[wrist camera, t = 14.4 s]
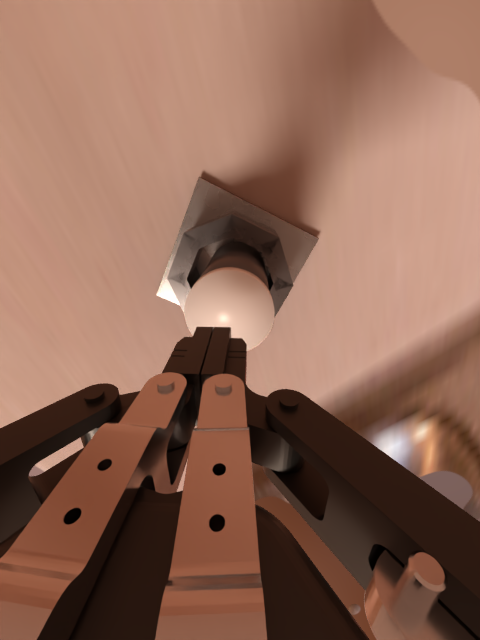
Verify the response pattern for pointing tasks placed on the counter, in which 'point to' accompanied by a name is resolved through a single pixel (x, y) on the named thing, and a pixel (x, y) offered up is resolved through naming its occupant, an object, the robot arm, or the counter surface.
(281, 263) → the hex nut base plate
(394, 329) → the counter surface
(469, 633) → the robot arm
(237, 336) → the grey round peg
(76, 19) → the counter surface
